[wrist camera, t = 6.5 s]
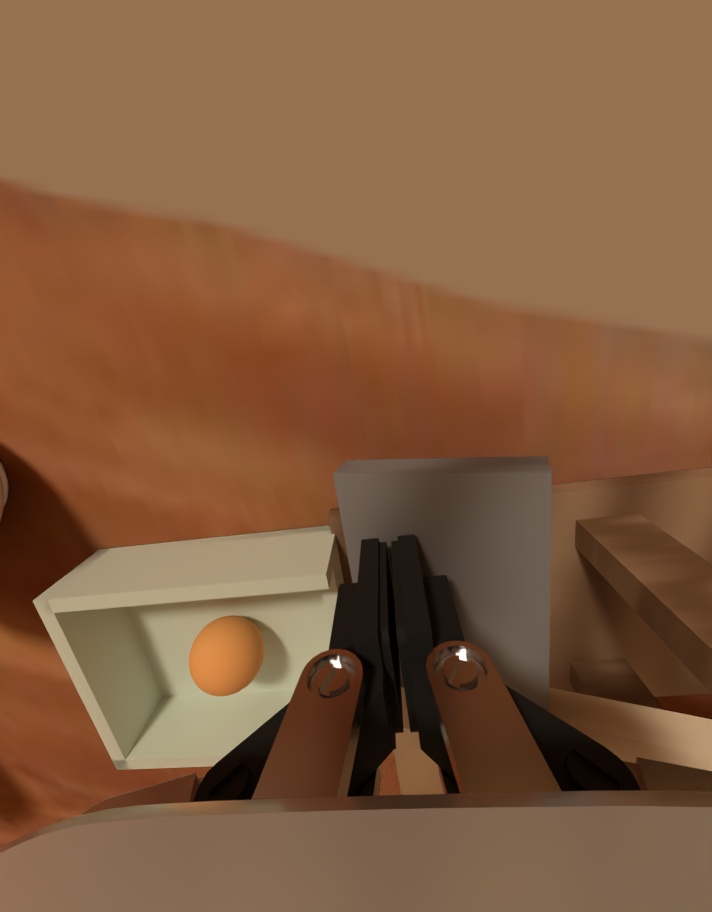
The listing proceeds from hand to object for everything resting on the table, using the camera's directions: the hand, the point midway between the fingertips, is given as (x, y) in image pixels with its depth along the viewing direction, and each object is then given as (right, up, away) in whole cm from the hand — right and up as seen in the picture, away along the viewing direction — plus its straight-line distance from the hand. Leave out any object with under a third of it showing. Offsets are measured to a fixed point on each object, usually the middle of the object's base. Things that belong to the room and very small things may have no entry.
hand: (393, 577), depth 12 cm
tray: (-9, -7, +12) cm, 16 cm away
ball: (-8, -7, +9) cm, 15 cm away
